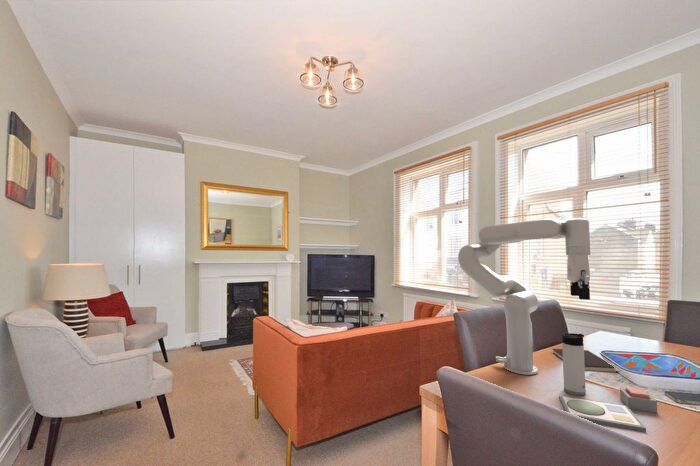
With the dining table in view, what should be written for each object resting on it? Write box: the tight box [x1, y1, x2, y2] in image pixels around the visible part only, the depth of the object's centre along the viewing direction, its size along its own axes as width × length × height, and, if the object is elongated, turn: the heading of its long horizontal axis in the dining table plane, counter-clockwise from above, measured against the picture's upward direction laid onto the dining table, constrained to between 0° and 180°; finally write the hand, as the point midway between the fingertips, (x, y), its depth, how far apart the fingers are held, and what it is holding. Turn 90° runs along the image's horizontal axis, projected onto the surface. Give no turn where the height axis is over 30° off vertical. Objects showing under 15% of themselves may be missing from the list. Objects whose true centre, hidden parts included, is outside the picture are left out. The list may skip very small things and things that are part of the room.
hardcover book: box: [551, 348, 617, 373], centre depth 144 cm, size 16×23×2 cm
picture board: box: [558, 395, 647, 433], centre depth 98 cm, size 18×14×1 cm
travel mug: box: [561, 333, 587, 396], centre depth 114 cm, size 6×7×20 cm
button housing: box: [619, 387, 658, 413], centre depth 103 cm, size 7×7×4 cm
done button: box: [625, 386, 649, 399], centre depth 103 cm, size 4×4×2 cm
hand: (580, 297), depth 120 cm, fingers open, 9 cm apart
